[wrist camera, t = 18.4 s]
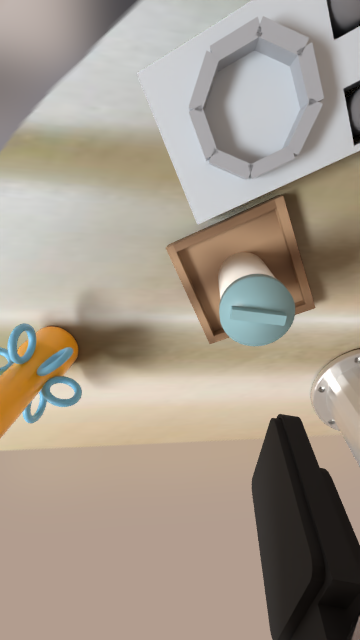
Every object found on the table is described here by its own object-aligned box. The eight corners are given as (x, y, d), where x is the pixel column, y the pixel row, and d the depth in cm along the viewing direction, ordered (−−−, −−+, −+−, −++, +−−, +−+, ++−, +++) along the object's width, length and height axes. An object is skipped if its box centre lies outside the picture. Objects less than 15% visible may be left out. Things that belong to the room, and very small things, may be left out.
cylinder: (49, 391, 41) (-30, 492, 28) (-3, 334, 38) (-121, 416, 24) (117, 358, 38) (65, 453, 24) (66, 291, 34) (-26, 359, 21)
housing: (388, 132, 25) (437, 117, 20) (198, 220, 30) (196, 227, 24) (362, -43, 21) (415, -122, 16) (146, 89, 26) (129, 62, 20)
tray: (310, 301, 32) (315, 307, 31) (209, 336, 35) (209, 344, 34) (278, 195, 28) (283, 195, 26) (168, 244, 31) (165, 248, 29)
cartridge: (274, 253, 30) (307, 286, 20) (263, 303, 32) (286, 354, 22) (220, 247, 30) (226, 276, 20) (213, 297, 32) (214, 345, 23)
